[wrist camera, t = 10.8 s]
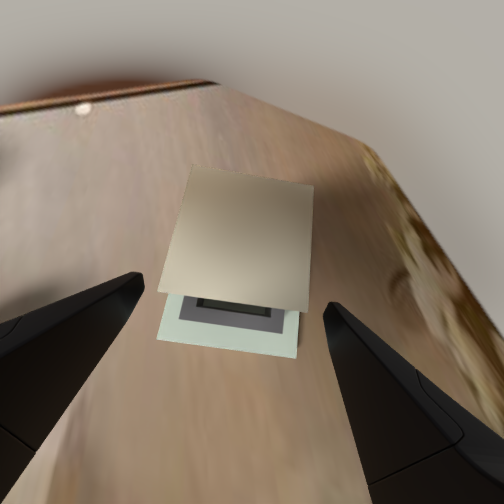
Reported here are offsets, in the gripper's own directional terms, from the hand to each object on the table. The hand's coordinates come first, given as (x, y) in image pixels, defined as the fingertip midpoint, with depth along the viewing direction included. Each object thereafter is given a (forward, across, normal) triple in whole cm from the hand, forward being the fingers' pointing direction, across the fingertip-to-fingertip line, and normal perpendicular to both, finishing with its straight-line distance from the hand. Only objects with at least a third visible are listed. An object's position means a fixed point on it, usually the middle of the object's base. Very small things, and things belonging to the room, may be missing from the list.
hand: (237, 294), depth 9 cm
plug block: (+7, 0, +4) cm, 8 cm away
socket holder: (+8, 0, +5) cm, 9 cm away
